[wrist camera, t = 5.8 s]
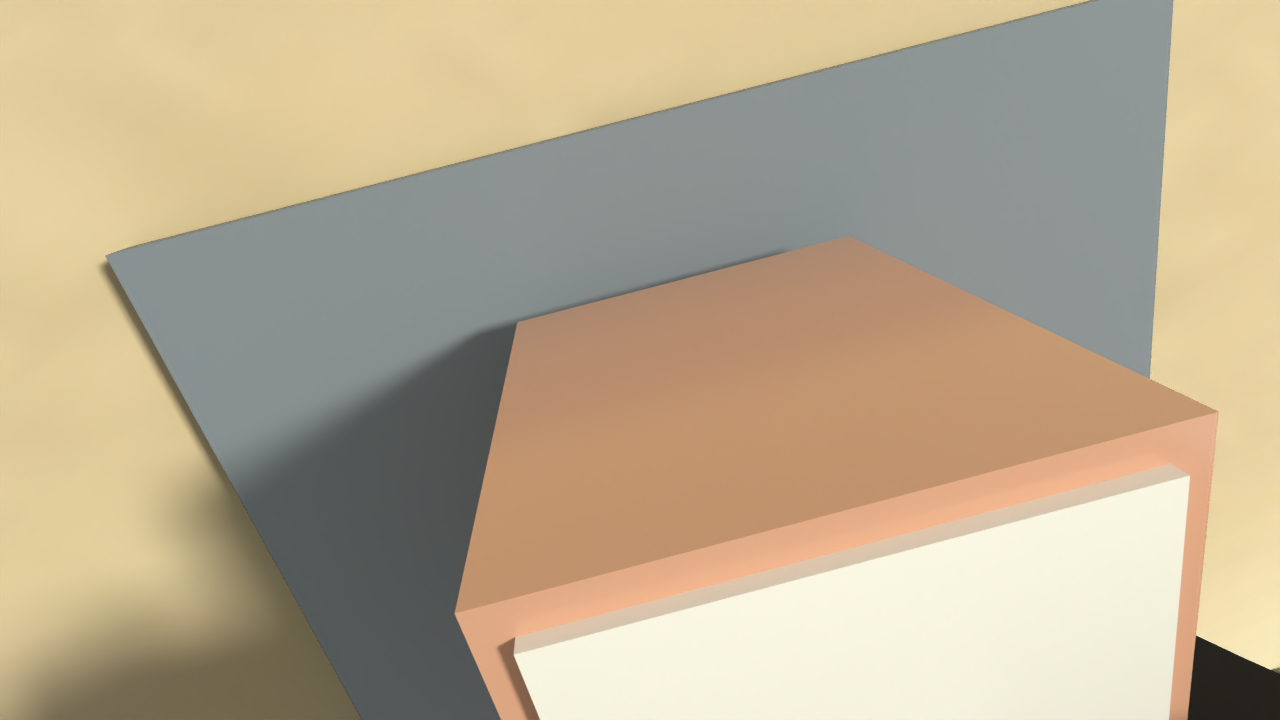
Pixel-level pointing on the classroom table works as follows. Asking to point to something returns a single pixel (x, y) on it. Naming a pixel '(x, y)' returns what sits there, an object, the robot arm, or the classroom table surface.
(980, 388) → the brick
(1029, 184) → the mat
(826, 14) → the classroom table surface
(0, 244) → the classroom table surface
